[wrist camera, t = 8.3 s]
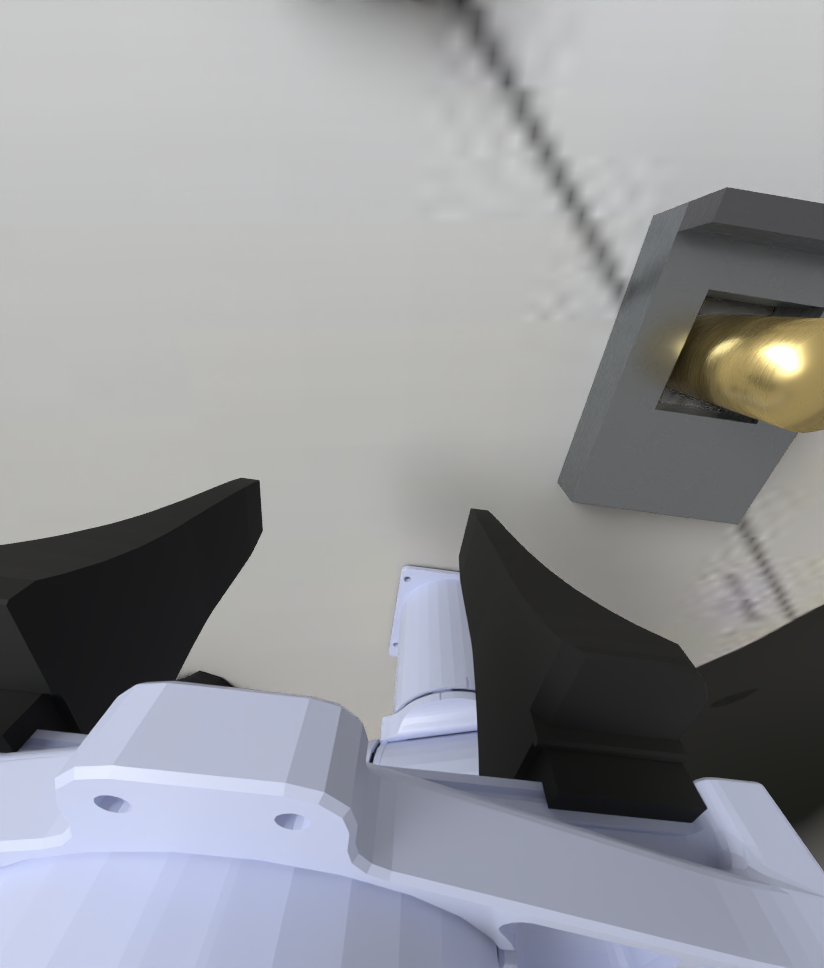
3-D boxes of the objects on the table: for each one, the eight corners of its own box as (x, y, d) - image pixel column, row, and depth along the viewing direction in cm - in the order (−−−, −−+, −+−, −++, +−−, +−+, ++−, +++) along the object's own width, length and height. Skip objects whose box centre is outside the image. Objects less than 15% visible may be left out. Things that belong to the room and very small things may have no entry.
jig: (707, 503, 23) (767, 544, 19) (557, 482, 23) (585, 520, 19) (857, 249, 17) (992, 232, 13) (653, 215, 17) (727, 187, 13)
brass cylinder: (707, 400, 20) (832, 444, 14) (644, 381, 20) (744, 416, 14) (756, 327, 19) (924, 338, 12) (687, 303, 18) (825, 304, 12)
